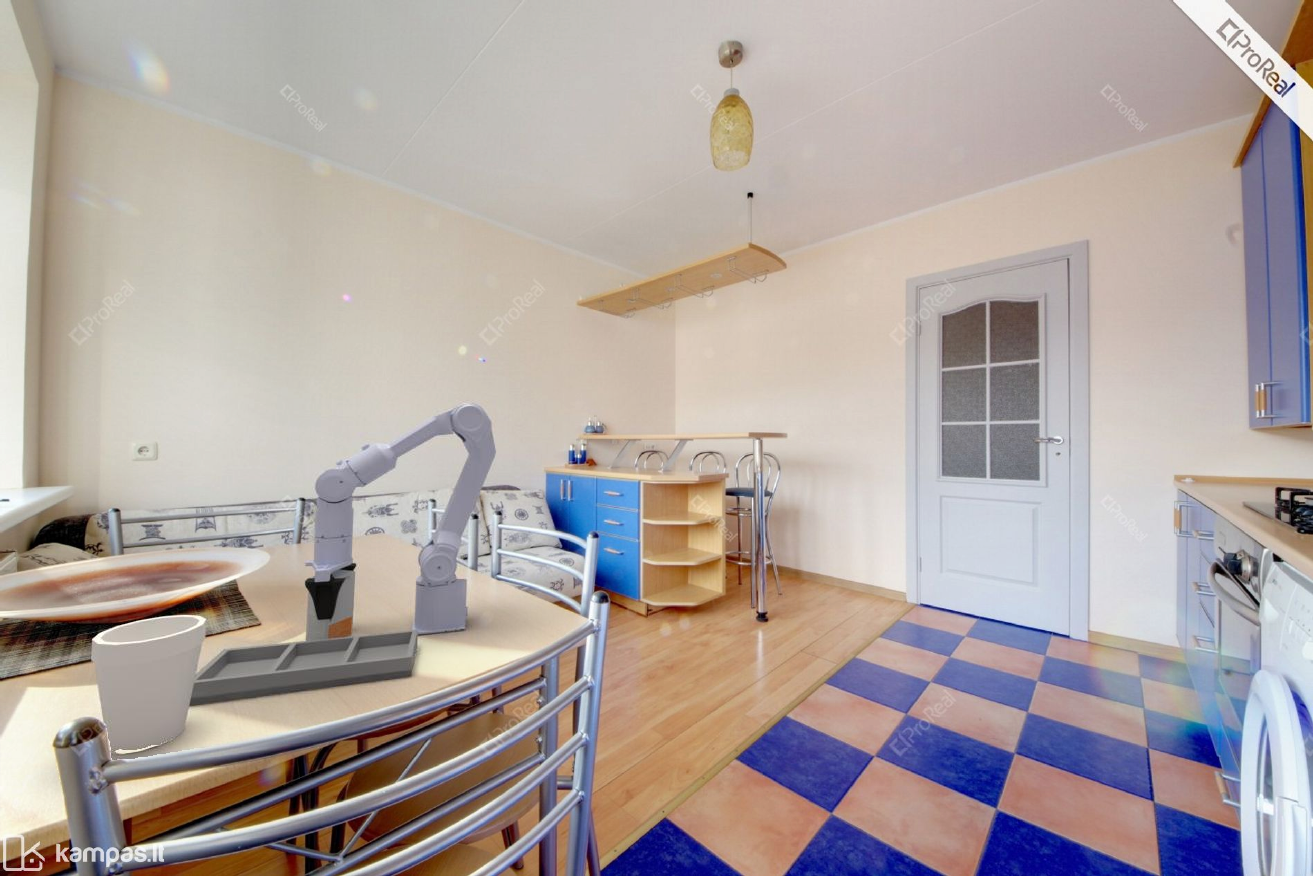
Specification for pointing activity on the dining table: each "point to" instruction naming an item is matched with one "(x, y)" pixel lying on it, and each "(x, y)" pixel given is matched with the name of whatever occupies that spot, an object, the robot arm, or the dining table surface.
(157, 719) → the foam cup
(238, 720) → the dining table surface
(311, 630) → the skincare box
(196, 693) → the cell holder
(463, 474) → the robot arm
